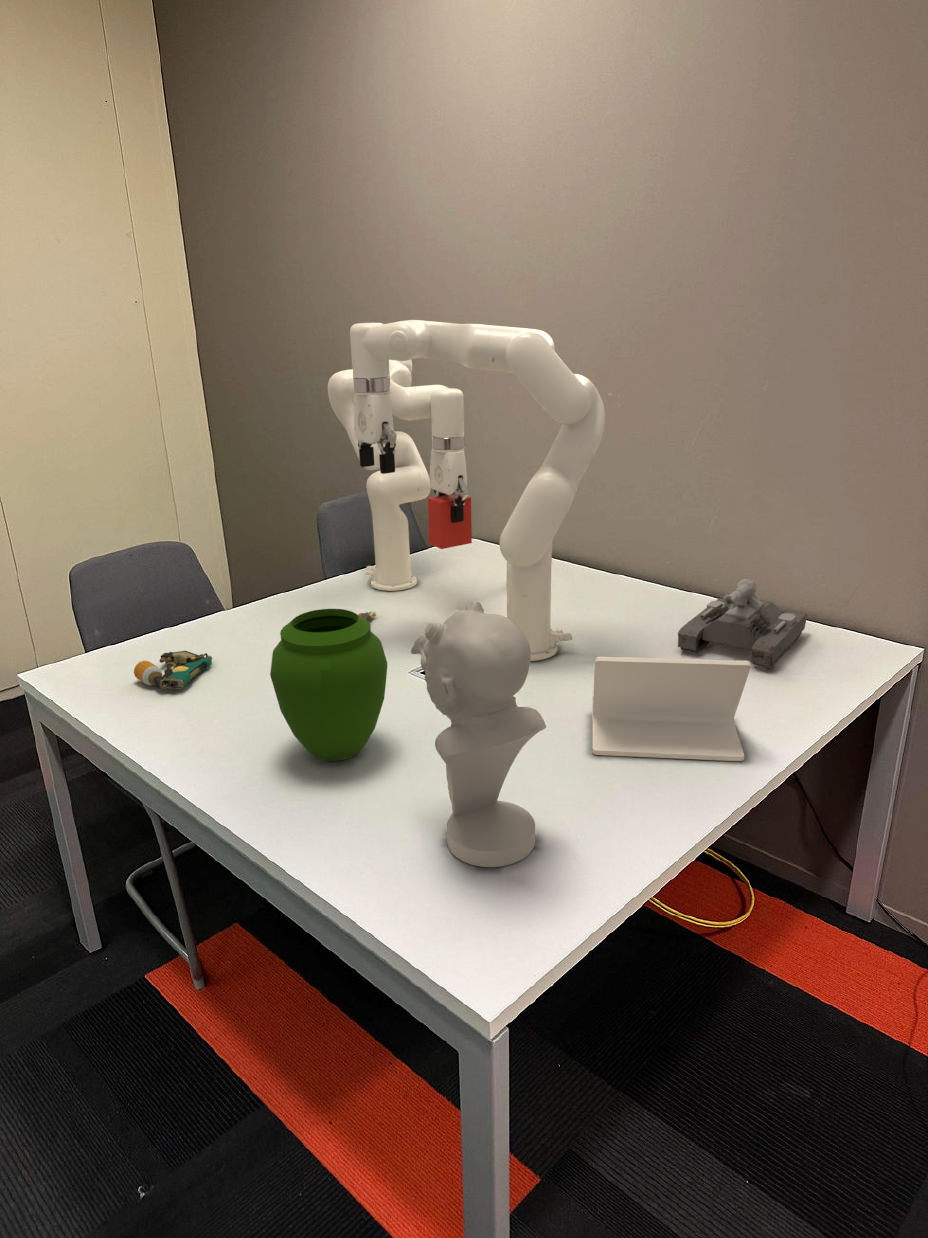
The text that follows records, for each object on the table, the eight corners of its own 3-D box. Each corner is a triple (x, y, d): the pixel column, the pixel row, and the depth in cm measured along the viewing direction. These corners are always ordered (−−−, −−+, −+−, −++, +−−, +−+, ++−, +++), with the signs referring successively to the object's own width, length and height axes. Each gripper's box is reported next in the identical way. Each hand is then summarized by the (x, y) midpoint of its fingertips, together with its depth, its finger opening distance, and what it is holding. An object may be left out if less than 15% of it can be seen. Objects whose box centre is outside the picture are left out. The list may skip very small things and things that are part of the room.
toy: (718, 618, 203) (723, 557, 198) (805, 634, 192) (812, 570, 187) (676, 653, 184) (680, 587, 179) (769, 673, 173) (777, 604, 168)
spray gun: (177, 659, 191) (231, 671, 185) (120, 684, 176) (176, 698, 171) (176, 641, 190) (230, 653, 184) (118, 665, 175) (174, 678, 169)
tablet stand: (744, 761, 141) (754, 667, 135) (592, 754, 145) (595, 663, 139) (728, 711, 158) (736, 626, 152) (592, 707, 162) (594, 623, 156)
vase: (415, 740, 151) (408, 611, 143) (343, 792, 136) (331, 651, 127) (331, 715, 161) (319, 593, 153) (256, 761, 146) (238, 628, 137)
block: (429, 543, 208) (427, 498, 203) (459, 537, 212) (458, 493, 208) (441, 549, 203) (440, 502, 199) (471, 543, 207) (471, 497, 203)
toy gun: (311, 634, 194) (352, 630, 192) (338, 611, 212) (376, 607, 210) (313, 645, 195) (354, 642, 193) (340, 621, 213) (378, 618, 211)
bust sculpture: (481, 772, 140) (476, 569, 128) (565, 848, 120) (569, 617, 108) (392, 800, 134) (378, 588, 121) (465, 886, 114) (457, 642, 101)
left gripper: (415, 440, 204) (418, 514, 210) (454, 450, 190) (456, 529, 197) (442, 436, 207) (444, 509, 214) (482, 446, 194) (483, 524, 201)
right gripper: (338, 384, 180) (344, 465, 186) (374, 390, 166) (379, 478, 172) (370, 382, 184) (375, 461, 190) (408, 387, 170) (412, 473, 176)
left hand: (450, 518), depth 205 cm, fingers closed on block, 5 cm apart
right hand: (377, 469), depth 181 cm, fingers open, 9 cm apart
